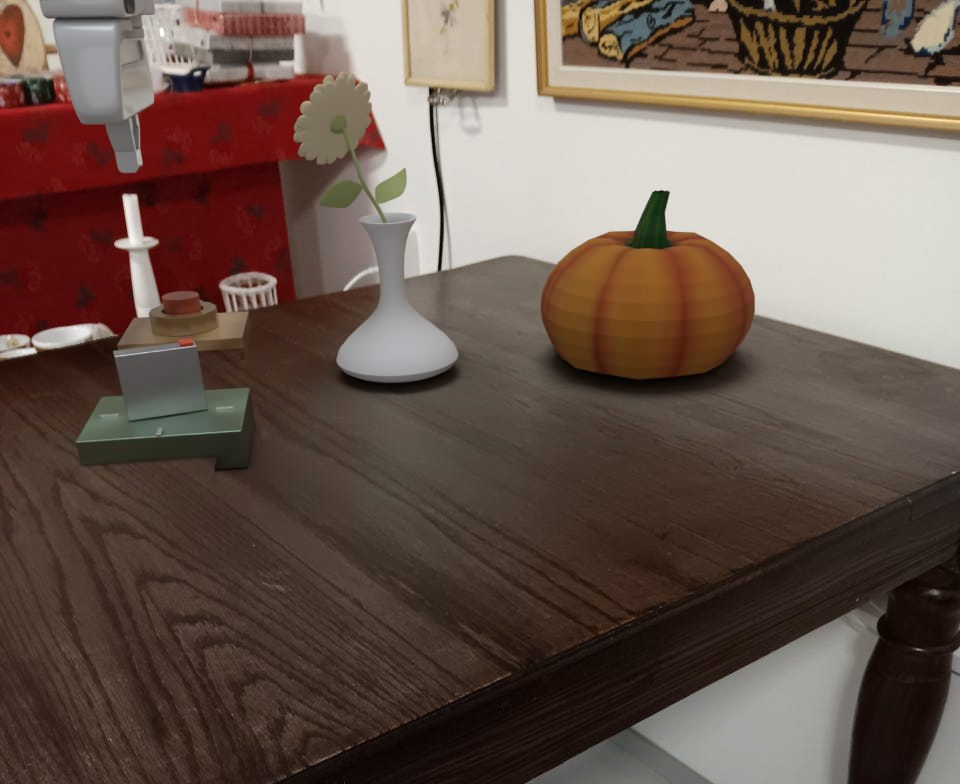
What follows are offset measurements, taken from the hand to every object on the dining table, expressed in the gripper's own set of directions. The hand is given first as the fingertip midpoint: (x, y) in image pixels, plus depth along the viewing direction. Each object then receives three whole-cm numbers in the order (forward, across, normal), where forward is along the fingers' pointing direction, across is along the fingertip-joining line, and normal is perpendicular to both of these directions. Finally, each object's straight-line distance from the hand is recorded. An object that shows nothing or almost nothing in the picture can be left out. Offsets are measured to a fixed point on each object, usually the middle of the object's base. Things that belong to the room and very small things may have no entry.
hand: (131, 170), depth 92 cm
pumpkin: (+16, +13, +46) cm, 51 cm away
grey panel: (+14, +27, +4) cm, 30 cm away
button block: (+17, -1, +2) cm, 17 cm away
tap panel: (+17, +27, +4) cm, 32 cm away
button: (+13, -1, +2) cm, 14 cm away
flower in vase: (+17, +12, +22) cm, 30 cm away
